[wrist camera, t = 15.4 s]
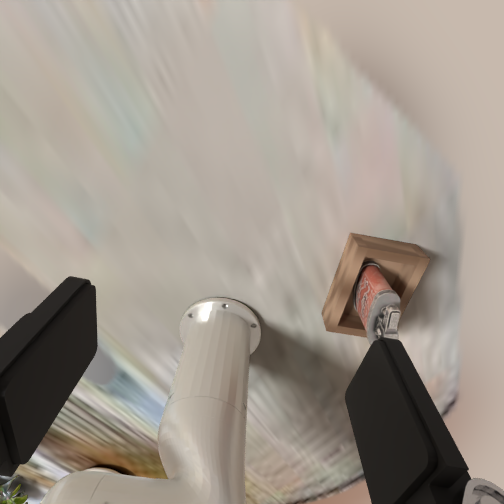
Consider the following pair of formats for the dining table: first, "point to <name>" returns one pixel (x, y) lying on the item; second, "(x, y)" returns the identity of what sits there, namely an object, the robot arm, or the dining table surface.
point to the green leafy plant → (12, 494)
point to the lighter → (376, 303)
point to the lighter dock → (392, 267)
